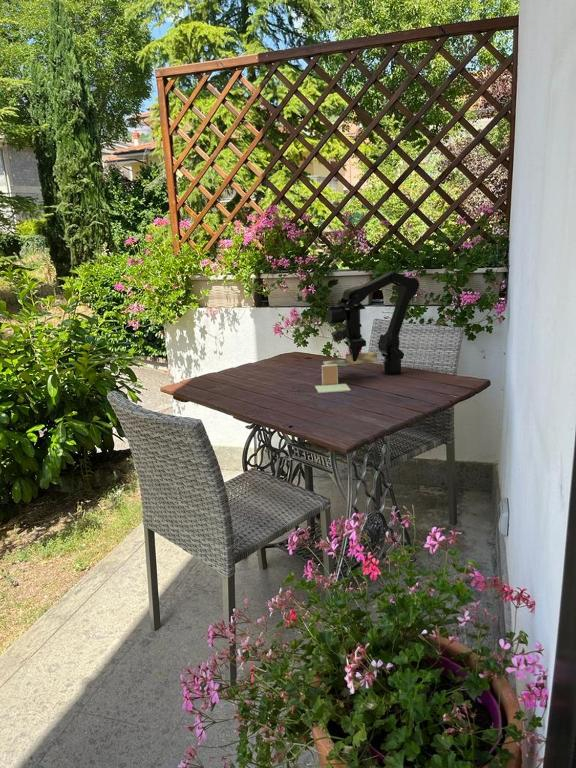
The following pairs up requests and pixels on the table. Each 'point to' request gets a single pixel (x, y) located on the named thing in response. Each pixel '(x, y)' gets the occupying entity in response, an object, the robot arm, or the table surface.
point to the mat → (332, 388)
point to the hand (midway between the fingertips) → (353, 360)
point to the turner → (361, 358)
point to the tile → (329, 374)
